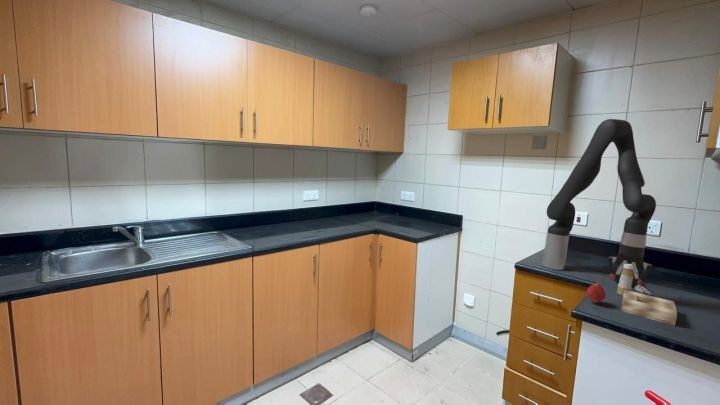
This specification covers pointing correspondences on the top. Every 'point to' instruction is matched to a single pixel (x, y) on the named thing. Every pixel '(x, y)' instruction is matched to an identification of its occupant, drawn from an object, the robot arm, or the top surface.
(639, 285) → the pliers
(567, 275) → the top surface
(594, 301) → the onion
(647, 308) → the holder
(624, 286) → the sprinkles bottle
